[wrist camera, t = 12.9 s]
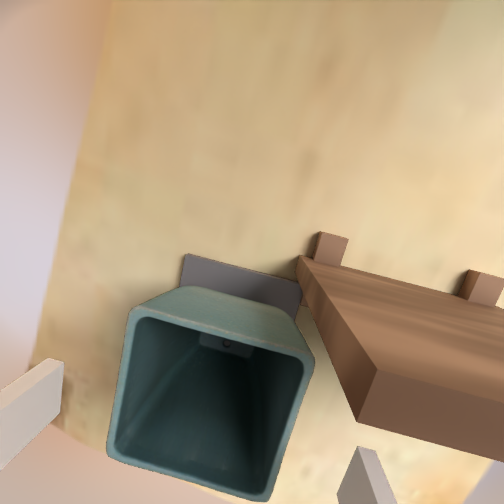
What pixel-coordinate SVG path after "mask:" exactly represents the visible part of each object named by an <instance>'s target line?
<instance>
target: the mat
mask: <svg viewBox="0 0 504 504" xmlns="http://www.w3.org/2000/svg"><path fill="white" fill-rule="evenodd" d="M182 286H199V287H204V288H208V289H211V290H215V291H218V292H222V293H226V294H229V295H233V296H237V297H240V298H244V299H248V300H252V301H255V302H259V303H263V304H267V305H271V306H274V307H277V308H279V309H281V310H283V311H285V312H286V313H287V314H288V315H289V316H290V317H291V318H292V319H293V321H294V320H295V317H296V313H297V310H298V307H299V304H300V300H301V297H302V294H303V291H302V289H301V286H300V284H299V282H295V281H291V280H288V279H284V278H280V277H276V276H272V275H268V274H265V273H261V272H257V271H253V270H249V269H246V268H242V267H238V266H234V265H230V264H226V263H223V262H219V261H215V260H211V259H207V258H203V257H200V256H196V255H192V254H186V255H185V260H184V265H183V270H182V275H181V280H180V285H179V287H182ZM224 344H225V345H226V346H229V345H230V342H229V341H224Z"/></svg>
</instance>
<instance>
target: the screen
mask: <svg viewBox="0 0 504 504" xmlns="http://www.w3.org/2000/svg"><path fill="white" fill-rule="evenodd" d="M348 240H349V239H347V238H344V237H340V236H336V235H332V234H329V233H325V232H321V231H320V233H319V236H318V239H317V242H316V246H315V249H314V252H313V255H312V258H309V257H306V256H302V255H300V256H299V259H298V263H297V266H296V269H295V274H296V277H297V279H298V282H299V284H300V286H301V289H302V291H303V294H302V297H301V300H300V305H302V306H306V307H309V308H310V311H311V313H312V315H313V318H314V320H315V323H316V325H317V328H318V330H319V332H320V335H321V337H322V340H323V342H324V345H325V347H326V349H327V352H328V354H329V357H330V359H331V361H332V364H333V366H334V369H335V371H336V374H337V376H338V378H339V381H340V383H341V386H342V388H343V390H344V393H345V395H346V398H347V400H348V403H349V405H350V407H351V410H352V412H353V415H354V417H355V420H356V422H358V423H362V424H365V425H369V426H373V427H376V428H380V429H384V430H387V431H391V432H395V433H398V434H402V435H406V436H409V437H413V438H417V439H420V440H424V441H428V442H431V443H435V444H438V445H442V446H446V447H449V448H453V449H457V450H460V451H464V452H468V453H471V454H475V455H479V456H482V457H486V458H490V459H493V460H497V461H501V462H504V309H502V308H500V307H497V306H495V304H496V302H497V300H498V298H499V296H500V294H501V292H502V290H503V287H504V279H503V278H500V277H496V276H493V275H489V274H485V273H481V272H477V271H473V270H469V271H468V273H467V276H466V278H465V280H464V282H463V285H462V287H461V289H460V291H459V294H458V296H456V295H452V294H449V293H445V292H441V291H437V290H433V289H429V288H425V287H421V286H418V285H414V284H410V283H406V282H402V281H398V280H394V279H391V278H387V277H383V276H379V275H375V274H371V273H367V272H363V271H360V270H356V269H352V268H348V267H344V266H340V264H341V261H342V258H343V255H344V252H345V249H346V246H347V243H348Z"/></svg>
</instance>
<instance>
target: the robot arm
mask: <svg viewBox="0 0 504 504" xmlns="http://www.w3.org/2000/svg"><path fill="white" fill-rule="evenodd" d="M63 372H64V362H62V361H58V360H55V359H51V358H47V359H45V360H44V361H42V362H41V363H39V364H38V365H36V366H35V367H34V368H32V369H31V370H29V371H28V372H26V373H25V374H23V375H22V376H20V377H19V378H18V379H16V380H14V381H13V382H12V383H10V384H9V385H7V386H6V387H4V388H3V389H1V390H0V471H1V470H2V469H3V468H4V467H5V466H6V465H7V464H8V463H9V462H10V461H11V460H12V459H13V458H14V457H15V456H16V455H17V454H18V453H19V452H20V451H21V450H22V449H23V448H24V447H26V446H27V445H28V444H29V443H30V442H31V441H32V440H33V438H35V437H36V436H37V435H38V434H39V432H41V431H42V430H43V429H44V428H45V427H46V426H47V425H48V424H49V423H50V422H51V421H52V420H53V419H54V418H55V417H56V416H57V415H58V414H59V413H60V406H61V395H62V384H63ZM337 497H338V502H339V504H397V501H396V499H395V497H394V494H393V492H392V490H391V487H390V485H389V482H388V480H387V478H386V475H385V473H384V470H383V468H382V466H381V463H380V461H379V459H378V456H377V454H376V451H374V450H370V449H367V448H363V447H360V446H357V448H356V450H355V453H354V455H353V457H352V460H351V462H350V464H349V467H348V469H347V471H346V474H345V476H344V478H343V480H342V483H341V485H340V487H339V490H338V492H337Z"/></svg>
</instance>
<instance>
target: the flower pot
mask: <svg viewBox="0 0 504 504" xmlns="http://www.w3.org/2000/svg"><path fill="white" fill-rule="evenodd" d="M224 341H229V342H230V345H229V346H226V345H225V344H224ZM314 366H315V358H314V356H313V354H312V352H311V351H310V349H309V347H308V345H307V343H306V341H305V340H304V338H303V336H302V334H301V332H300V331H299V329H298V327H297V325H296V324H295V322H294V321H293V319H292V318H291V317H290V316H289V315H288V314H287V313H286V312H285V311H283V310H281V309H279V308H277V307H274V306H271V305H267V304H263V303H259V302H255V301H252V300H248V299H244V298H240V297H237V296H233V295H229V294H226V293H222V292H218V291H215V290H211V289H208V288H204V287H199V286H182V287H179V288H176V289H173V290H171V291H168V292H166V293H164V294H162V295H160V296H158V297H155V298H153V299H151V300H149V301H147V302H144V303H142V304H140V305H138V306H135V307H134V308H132V309H131V310H130V312H129V315H128V318H127V323H126V331H125V336H124V345H123V351H122V357H121V362H120V367H119V374H118V381H117V386H116V392H115V397H114V404H113V409H112V414H111V421H110V426H109V431H108V436H107V442H106V452H107V455H108V457H110V458H113V459H115V460H117V461H119V462H122V463H124V464H128V465H132V466H135V467H138V468H142V469H147V470H149V471H152V472H153V471H154V472H157V473H160V474H164V475H169V476H172V477H175V478H178V479H181V480H185V481H188V482H192V483H196V484H199V485H201V486H205V487H208V488H211V489H214V490H217V491H220V492H224V493H227V494H230V495H234V496H236V497H240V498H243V499H246V500H250V501H255V502H267V501H269V499H270V497H271V494H272V492H273V489H274V485H275V482H276V479H277V476H278V473H279V470H280V466H281V463H282V459H283V456H284V454H285V450H286V447H287V444H288V441H289V439H290V435H291V433H292V430H293V427H294V424H295V421H296V418H297V415H298V412H299V409H300V406H301V403H302V400H303V397H304V395H305V392H306V389H307V387H308V384H309V381H310V379H311V377H312V374H313V370H314Z"/></svg>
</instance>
